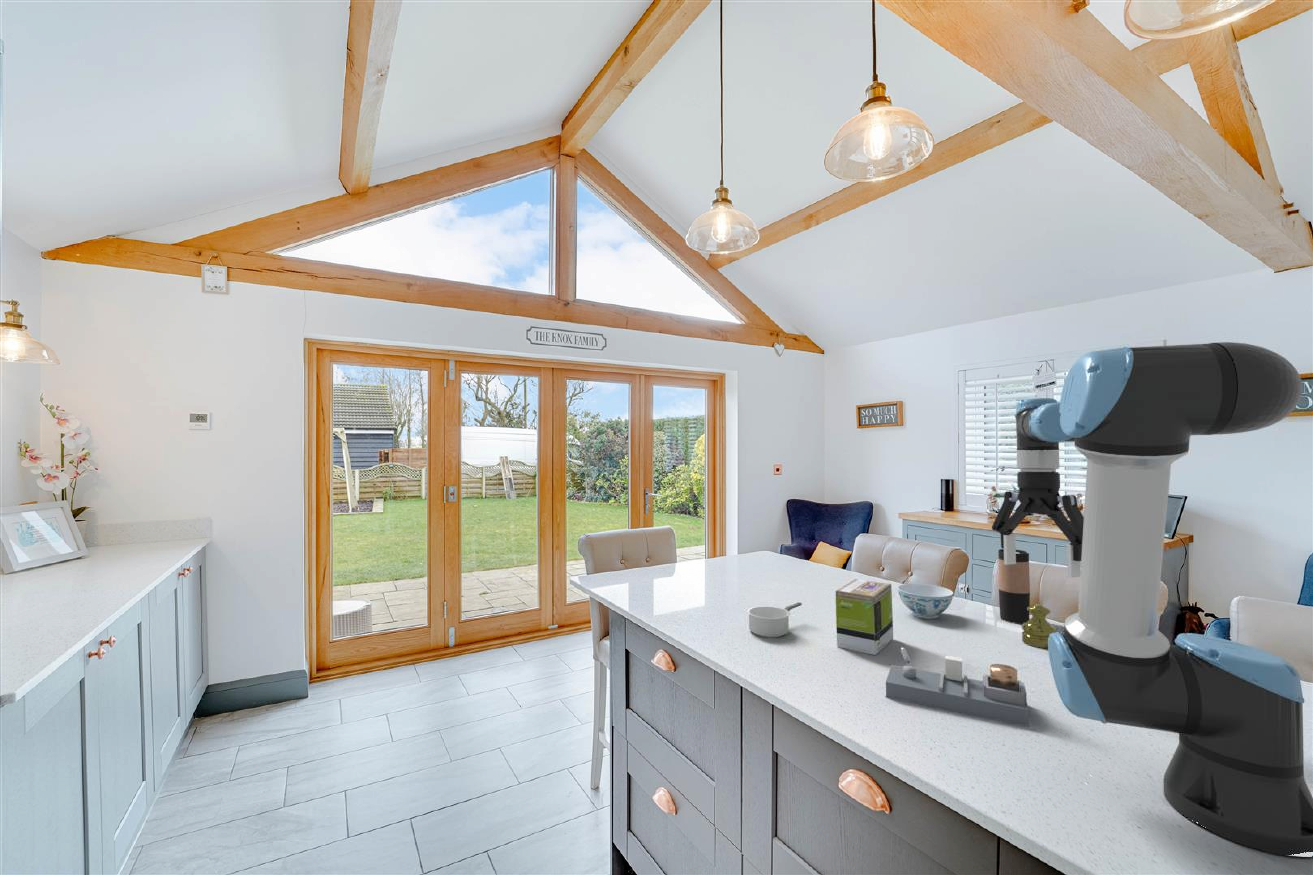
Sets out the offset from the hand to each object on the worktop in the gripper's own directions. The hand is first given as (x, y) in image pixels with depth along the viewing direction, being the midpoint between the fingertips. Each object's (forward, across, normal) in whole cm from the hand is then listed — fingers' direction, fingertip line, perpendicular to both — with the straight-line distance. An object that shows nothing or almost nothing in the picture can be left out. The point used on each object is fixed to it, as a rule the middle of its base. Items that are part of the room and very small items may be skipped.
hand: (1040, 570), depth 116 cm
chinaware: (+24, +46, -15) cm, 54 cm away
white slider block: (+21, +3, +21) cm, 30 cm away
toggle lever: (+19, +7, +29) cm, 35 cm away
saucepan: (+24, +51, +33) cm, 65 cm away
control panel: (+24, +1, +23) cm, 34 cm away
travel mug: (+24, +33, -36) cm, 55 cm away
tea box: (+24, +33, +18) cm, 45 cm away
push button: (+19, -5, +18) cm, 27 cm away
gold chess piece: (+24, +17, -24) cm, 38 cm away
